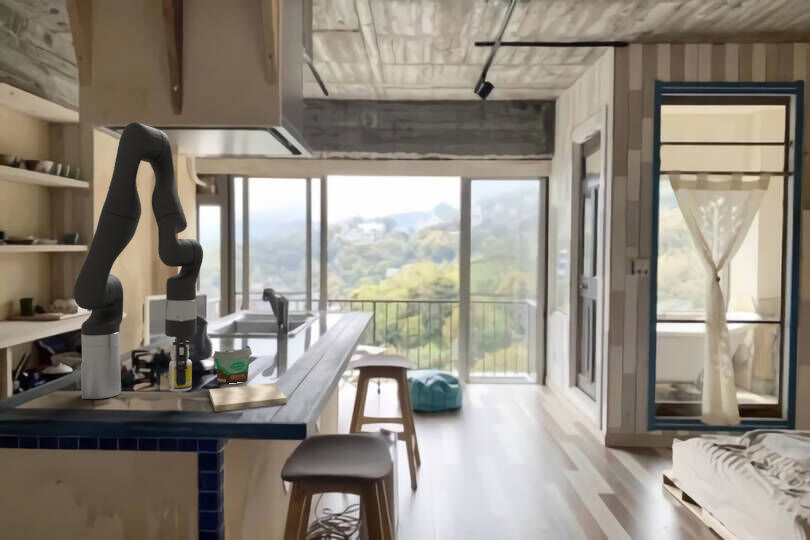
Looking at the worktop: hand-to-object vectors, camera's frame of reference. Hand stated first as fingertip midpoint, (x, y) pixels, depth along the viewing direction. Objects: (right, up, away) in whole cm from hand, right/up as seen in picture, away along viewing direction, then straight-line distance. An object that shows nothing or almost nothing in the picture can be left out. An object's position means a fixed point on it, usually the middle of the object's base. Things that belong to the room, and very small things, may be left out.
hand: (180, 381), depth 144 cm
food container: (+7, -5, +25) cm, 26 cm away
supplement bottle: (0, -2, 0) cm, 2 cm away
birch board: (+15, -6, +7) cm, 18 cm away
